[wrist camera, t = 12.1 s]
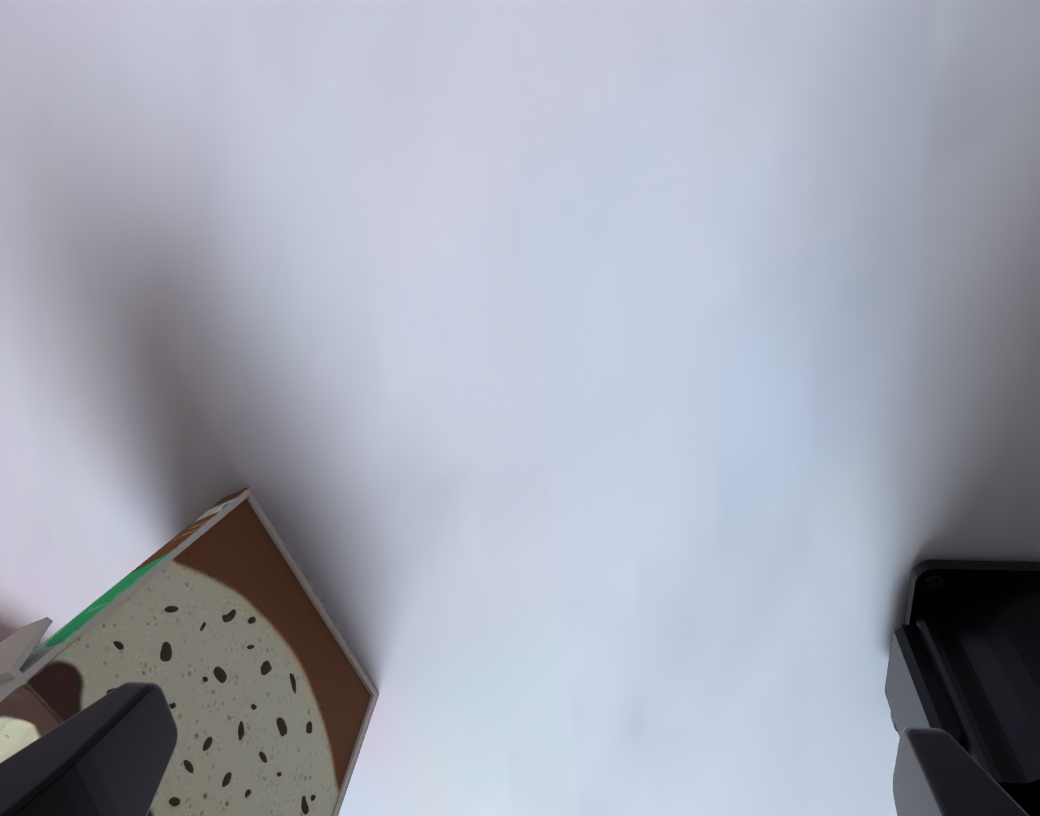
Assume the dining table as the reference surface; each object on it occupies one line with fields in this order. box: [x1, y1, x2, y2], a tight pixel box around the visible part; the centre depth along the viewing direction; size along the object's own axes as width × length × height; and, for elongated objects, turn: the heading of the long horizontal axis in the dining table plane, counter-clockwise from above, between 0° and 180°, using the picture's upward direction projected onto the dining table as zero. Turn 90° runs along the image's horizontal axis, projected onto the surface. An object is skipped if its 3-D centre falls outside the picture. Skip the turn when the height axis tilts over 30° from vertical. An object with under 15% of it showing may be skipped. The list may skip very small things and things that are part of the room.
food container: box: [0, 487, 379, 816], centre depth 23 cm, size 12×6×10 cm, turn 24°
